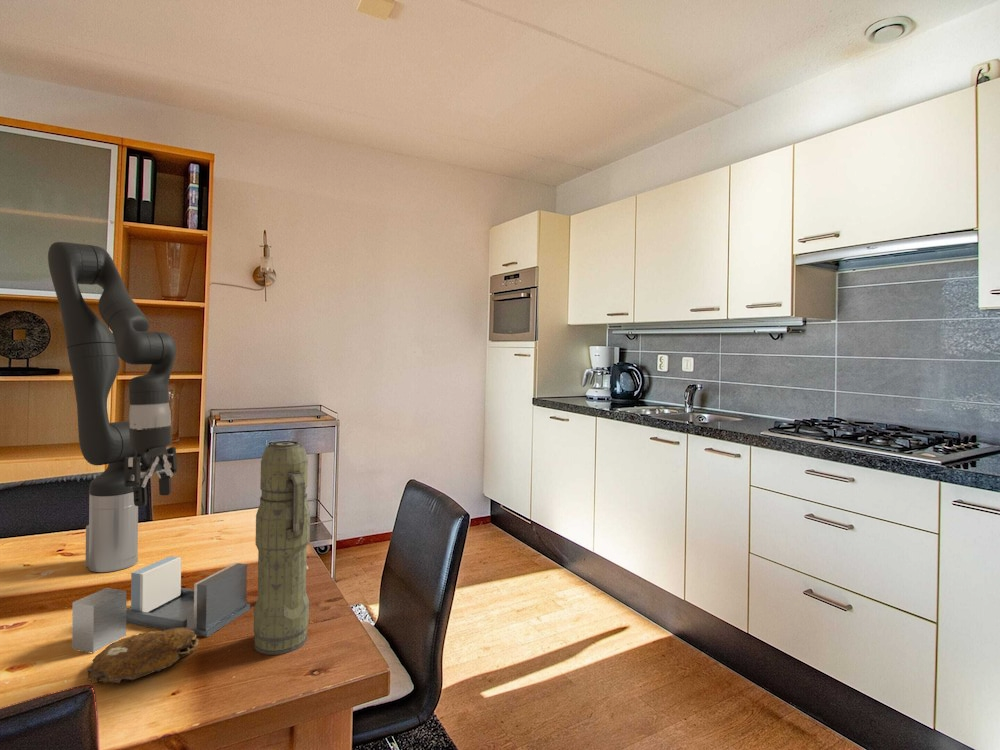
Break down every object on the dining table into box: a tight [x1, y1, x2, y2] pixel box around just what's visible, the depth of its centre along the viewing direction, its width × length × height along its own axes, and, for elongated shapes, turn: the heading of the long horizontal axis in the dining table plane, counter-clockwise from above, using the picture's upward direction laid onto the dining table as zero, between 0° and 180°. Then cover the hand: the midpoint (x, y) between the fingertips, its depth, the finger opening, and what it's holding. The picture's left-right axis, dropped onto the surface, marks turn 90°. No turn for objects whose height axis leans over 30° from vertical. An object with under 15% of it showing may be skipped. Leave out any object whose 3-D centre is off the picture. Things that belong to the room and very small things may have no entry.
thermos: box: [253, 440, 311, 656], centre depth 94 cm, size 9×12×35 cm
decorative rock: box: [86, 627, 200, 685], centre depth 87 cm, size 11×4×15 cm
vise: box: [126, 562, 251, 638], centre depth 103 cm, size 18×11×9 cm, turn 77°
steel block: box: [71, 587, 127, 654], centre depth 93 cm, size 6×4×8 cm
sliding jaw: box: [130, 555, 182, 612], centre depth 104 cm, size 3×9×8 cm, turn 167°
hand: (153, 500), depth 116 cm, fingers open, 8 cm apart
